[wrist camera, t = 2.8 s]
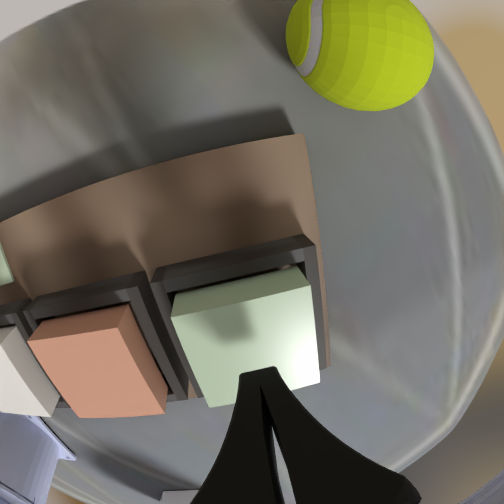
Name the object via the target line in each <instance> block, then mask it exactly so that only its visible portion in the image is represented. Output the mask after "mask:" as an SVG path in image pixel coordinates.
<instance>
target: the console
mask: <svg viewBox="0 0 504 504" xmlns="http://www.w3.org/2000/svg"><path fill="white" fill-rule="evenodd" d="M295 266H297V267H298V268H299V269H300V271H301V272H302V274H303V275H304V277H305V278H306V279H307V281H308V282H309V284H310V285H311V293H312V302H313V311H314V320H315V330H316V340H317V351H318V363H319V370H322V369H325V368H327V367H329V366H331V361H330V342H329V327H328V313H327V301H326V289H325V279H324V269H323V260H322V251H321V242H320V234H319V226H318V218H317V211H316V204H315V197H314V190H313V184H312V177H311V171H310V165H309V159H308V153H307V147H306V142H305V136H304V133H300V134H293V135H287V136H281V137H274V138H269V139H263V140H257V141H252V142H247V143H242V144H237V145H232V146H227V147H222V148H218V149H213V150H209V151H205V152H200V153H196V154H192V155H188V156H184V157H180V158H176V159H173V160H169V161H165V162H162V163H158V164H154V165H151V166H147V167H144V168H141V169H137V170H134V171H131V172H128V173H124V174H121V175H118V176H115V177H112V178H109V179H106V180H103V181H100V182H97V183H94V184H92V185H89V186H86V187H83V188H80V189H78V190H75V191H72V192H70V193H67V194H65V195H62V196H60V197H57V198H55V199H52V200H50V201H47V202H45V203H42V204H40V205H38V206H35V207H33V208H31V209H28V210H26V211H24V212H22V213H19V214H17V215H15V216H13V217H11V218H9V219H6V220H4V221H2V222H0V328H5V327H11V326H16V327H17V328H18V330H19V332H20V334H21V336H22V338H23V339H24V341H25V343H26V345H27V346H28V348H29V350H30V351H31V353H32V355H33V356H34V358H35V360H36V361H37V363H38V364H39V366H40V368H41V369H42V371H43V372H44V374H45V375H46V377H47V378H48V380H49V381H50V382H51V384H52V385H53V387H54V388H55V390H56V391H57V392H58V394H59V395H60V398H59V400H58V402H57V404H56V407H55V408H71V407H70V406H69V404H68V403H67V402H66V400H65V399H64V398H63V396H62V395H61V393H60V392H59V391H58V389H57V388H56V386H55V385H54V384H53V382H52V381H51V379H50V378H49V376H48V375H47V373H46V372H45V370H44V369H43V367H42V366H41V364H40V362H39V361H38V359H37V358H36V356H35V354H34V353H33V351H32V349H31V348H30V346H29V344H28V342H27V341H28V339H29V338H30V337H31V335H32V334H33V333H34V331H35V330H36V329H37V328H38V326H39V325H40V324H41V322H42V321H44V320H50V319H55V318H60V317H66V316H71V315H76V314H81V313H86V312H91V311H97V310H102V309H107V308H112V307H116V306H121V305H126V304H128V305H129V307H130V309H131V312H132V314H133V316H134V319H135V321H136V323H137V326H138V328H139V330H140V332H141V334H142V337H143V339H144V341H145V343H146V345H147V347H148V349H149V351H150V353H151V356H152V358H153V360H154V362H155V364H156V366H157V368H158V370H159V371H160V373H161V375H162V377H163V379H164V381H165V383H166V385H167V387H168V391H167V400H166V402H172V401H180V400H187V399H188V398H195V397H198V398H200V397H204V395H203V393H202V391H201V388H200V386H199V384H198V382H197V380H196V377H195V375H194V373H193V371H192V368H191V366H190V364H189V362H188V359H187V357H186V355H185V352H184V350H183V347H182V345H181V342H180V340H179V338H178V335H177V333H176V330H175V328H174V325H173V322H172V320H171V313H172V308H173V304H174V299H175V294H178V293H183V292H187V291H192V290H196V289H201V288H205V287H210V286H214V285H219V284H223V283H227V282H232V281H236V280H240V279H245V278H249V277H253V276H257V275H262V274H266V273H270V272H274V271H278V270H283V269H287V268H291V267H295Z"/></svg>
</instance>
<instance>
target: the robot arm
mask: <svg viewBox="0 0 504 504" xmlns="http://www.w3.org/2000/svg"><path fill="white" fill-rule="evenodd" d="M272 428H273V430H274V433H275V436H276V439H277V442H278V444H279V447H280V450H281V452H282V455H283V458H284V461H285V463H286V466H287V469H288V473H289V477H290V481H291V485H292V489H293V493H294V497H295V500H296V504H419V502H420V501H421V497H420V494H419V492H418V491H417V490H416V488H415V487H414V486H413V485H412V483H411V482H410V481H409V480H408V479H406V477H405V476H403V475H401V474H398V473H396V472H394V471H391V470H389V469H387V468H385V467H383V466H381V465H379V464H377V463H375V462H373V461H372V460H370V459H368V458H366V457H365V456H363V455H361V454H360V453H358V452H357V451H355V450H354V449H352V448H351V447H349V446H348V445H346V444H345V443H343V442H342V441H341V440H339V439H338V438H337V437H335V436H334V435H333V434H332V433H331V432H329V431H328V430H327V429H326V428H325V427H324V426H322V425H321V424H320V423H319V422H318V421H317V420H316V419H315V418H314V417H313V416H312V415H311V414H310V413H309V412H308V411H307V410H306V409H305V407H304V406H303V405H302V404H301V403H300V402H299V400H298V399H297V398H296V397H295V396H294V394H293V393H292V392H291V390H290V389H289V388H288V386H287V385H286V383H285V382H284V380H283V379H282V377H281V375H280V373H279V371H278V369H277V367H275V366H271V367H267V368H262V369H258V370H254V371H249V372H244V373H241V374H240V375H239V383H238V391H237V397H236V402H235V406H234V410H233V414H232V418H231V422H230V425H229V428H228V431H227V434H226V437H225V440H224V442H223V445H222V447H221V450H220V452H219V454H218V456H217V459H216V461H215V463H214V465H213V467H212V469H211V471H210V472H209V474H208V476H207V478H206V480H205V481H204V483H203V485H202V486H201V488H200V489H199V491H198V492H197V494H196V495H195V497H194V498H193V500H192V501H191V503H190V504H285V502H284V498H283V494H282V490H281V486H280V482H279V476H278V471H277V463H276V455H275V447H274V439H273V432H272ZM58 458H59V459H66V460H76V456H75V455H74V454H73V453H72V452H71V451H70V450H69V449H68V448H67V447H66V446H65V445H64V444H63V443H62V442H61V441H60V440H59V439H58V438H57V437H56V436H55V434H54V433H53V432H52V431H51V430H50V429H49V428H48V427H47V426H46V424H45V423H44V422H43V421H42V420H41V419H40V417H39V416H32V415H21V414H12V413H4V412H1V411H0V504H46V500H47V496H48V493H49V489H50V485H51V482H52V478H53V475H54V471H55V468H56V465H57V461H58ZM458 504H504V469H503V470H502V471H501V472H500V473H499V474H497V475H496V476H495V477H494V478H493V479H491V480H490V481H489V482H488V483H486V484H485V485H484V486H482V487H481V488H480V489H478V490H477V491H476V492H474V493H473V494H471V495H470V496H469V497H467V498H466V499H464V500H463V501H461V502H460V503H458Z"/></svg>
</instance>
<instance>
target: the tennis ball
mask: <svg viewBox="0 0 504 504" xmlns="http://www.w3.org/2000/svg"><path fill="white" fill-rule="evenodd" d="M285 37H286V44H287V50H288V54H289V56H290V59H291V61H292V63H293V64H294V65H295V67H296V69H297V71H298V73H299V75H300V76H301V78H302V79H303V80H304V81H305V82H306V83H307V84H308V85H309V86H310V87H311V88H312V89H313V90H314V91H315V92H316V93H318V94H319V95H321V96H322V97H324V98H325V99H327V100H329V101H331V102H334V103H336V104H338V105H341V106H343V107H345V108H350V109H354V110H360V111H380V110H386V109H390V108H394V107H397V106H399V105H401V104H403V103H405V102H407V101H408V100H410V99H411V98H413V97H414V96H415V95H416V94H417V93H418V92H419V91H420V90H421V89H422V88H423V87H424V85H425V83H426V82H427V80H428V78H429V75H430V73H431V70H432V66H433V60H434V45H433V39H432V35H431V32H430V30H429V27H428V25H427V23H426V21H425V19H424V18H423V16H422V14H421V13H420V12H419V11H418V9H417V8H416V7H415V6H414V5H413V4H412V3H411V2H410V1H409V0H297V1H296V3H295V4H294V6H293V7H292V9H291V12H290V15H289V18H288V21H287V24H286V36H285Z"/></svg>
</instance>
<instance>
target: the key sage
mask: <svg viewBox="0 0 504 504" xmlns="http://www.w3.org/2000/svg"><path fill="white" fill-rule="evenodd" d="M171 320H172V322H173V325H174V328H175V330H176V333H177V335H178V338H179V340H180V342H181V345H182V347H183V350H184V352H185V355H186V357H187V359H188V362H189V364H190V366H191V368H192V371H193V373H194V375H195V377H196V380H197V382H198V384H199V386H200V388H201V391H202V393H203V395H204V397H205V399H206V401H207V403H208V405H209V408H211V407H217V406H222V405H228V404H233V403H235V402H236V397H237V391H238V383H239V375H240V374H241V373H244V372H249V371H254V370H258V369H262V368H267V367H271V366H275V367H277V369H278V371H279V373H280V375H281V377H282V379H283V380H284V382H285V383H286V385H287V386H288V388H289V389H290V390H294V389H298V388H301V387H305V386H309V385H312V384H315V383H319V382H320V376H319V363H318V351H317V340H316V330H315V320H314V311H313V302H312V293H311V285H310V284H309V282H308V281H307V279H306V278H305V277H304V275H303V274H302V272H301V271H300V269H299V268H298V267H297V266H295V267H291V268H287V269H283V270H278V271H274V272H270V273H266V274H262V275H257V276H253V277H249V278H245V279H240V280H236V281H232V282H227V283H223V284H219V285H214V286H210V287H205V288H201V289H196V290H192V291H187V292H183V293H178V294H175V299H174V304H173V308H172V313H171Z"/></svg>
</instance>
